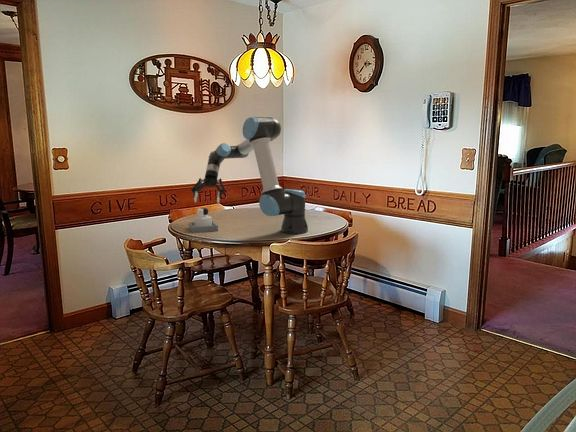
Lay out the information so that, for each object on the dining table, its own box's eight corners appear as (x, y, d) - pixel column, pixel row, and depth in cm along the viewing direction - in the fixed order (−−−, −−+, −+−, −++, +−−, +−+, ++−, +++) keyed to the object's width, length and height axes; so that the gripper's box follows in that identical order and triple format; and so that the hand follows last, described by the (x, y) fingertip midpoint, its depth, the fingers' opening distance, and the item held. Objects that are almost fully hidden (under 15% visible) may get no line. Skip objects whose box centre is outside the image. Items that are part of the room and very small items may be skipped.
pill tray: (218, 230, 252) (217, 225, 251) (192, 232, 247) (192, 227, 246) (213, 225, 265) (213, 220, 264) (189, 227, 260) (188, 222, 259)
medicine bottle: (204, 227, 261) (203, 206, 258) (212, 229, 256) (211, 208, 254) (194, 229, 255) (193, 208, 253) (202, 231, 251) (201, 210, 248)
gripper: (233, 177, 276) (228, 205, 264) (193, 177, 278) (187, 205, 267) (231, 169, 270) (226, 198, 258) (190, 169, 272) (183, 197, 260)
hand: (206, 201), depth 262 cm, fingers open, 13 cm apart
